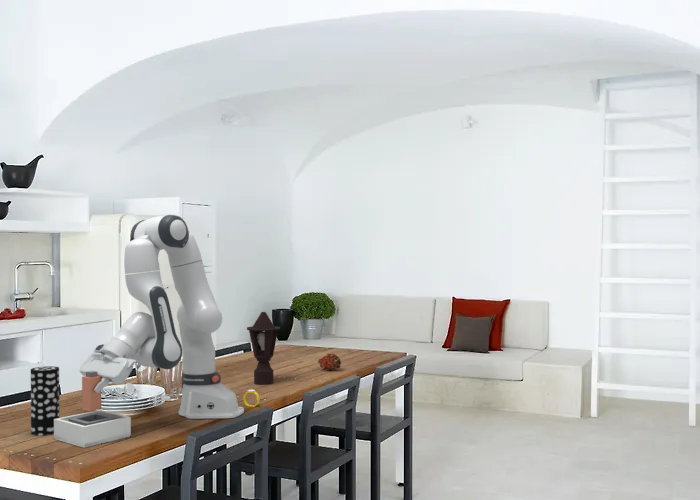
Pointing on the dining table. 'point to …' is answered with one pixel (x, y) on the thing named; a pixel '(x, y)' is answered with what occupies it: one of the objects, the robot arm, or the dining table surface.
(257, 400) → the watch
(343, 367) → the dining table surface
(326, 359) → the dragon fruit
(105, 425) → the walled box
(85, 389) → the connector
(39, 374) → the spotted tube
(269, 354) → the lantern
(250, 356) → the dining table surface
